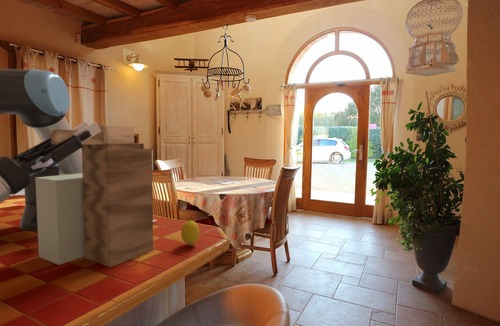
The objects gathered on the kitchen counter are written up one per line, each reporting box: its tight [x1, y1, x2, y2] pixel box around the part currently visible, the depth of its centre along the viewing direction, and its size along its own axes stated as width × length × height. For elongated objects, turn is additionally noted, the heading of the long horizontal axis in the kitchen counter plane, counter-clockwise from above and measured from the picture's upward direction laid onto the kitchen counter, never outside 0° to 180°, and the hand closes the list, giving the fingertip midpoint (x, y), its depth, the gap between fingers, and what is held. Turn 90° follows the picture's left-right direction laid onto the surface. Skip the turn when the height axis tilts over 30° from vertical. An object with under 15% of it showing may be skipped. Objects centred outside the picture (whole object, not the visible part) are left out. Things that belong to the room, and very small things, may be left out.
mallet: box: [51, 125, 135, 149], centre depth 77 cm, size 7×19×6 cm, turn 150°
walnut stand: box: [81, 142, 154, 268], centre depth 85 cm, size 11×14×32 cm
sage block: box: [36, 173, 85, 266], centre depth 86 cm, size 10×14×22 cm
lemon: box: [180, 219, 200, 246], centre depth 94 cm, size 6×6×8 cm
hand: (92, 126), depth 77 cm, fingers closed on mallet, 3 cm apart
